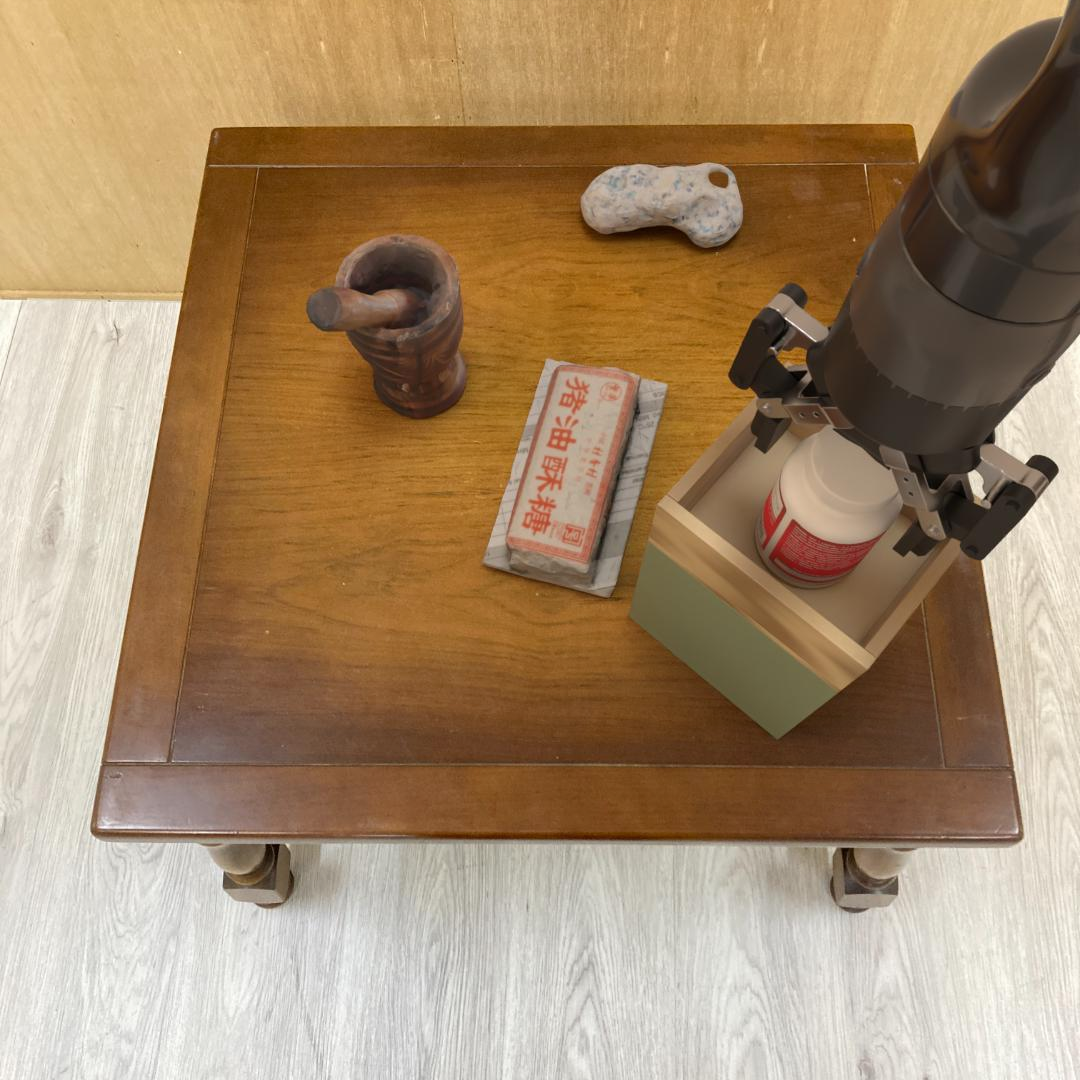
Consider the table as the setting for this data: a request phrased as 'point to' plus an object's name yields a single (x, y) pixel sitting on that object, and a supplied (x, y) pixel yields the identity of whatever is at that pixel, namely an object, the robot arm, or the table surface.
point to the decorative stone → (665, 201)
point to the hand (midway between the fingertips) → (837, 488)
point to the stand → (724, 646)
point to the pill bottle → (825, 511)
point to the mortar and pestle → (400, 320)
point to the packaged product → (577, 477)
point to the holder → (761, 596)
